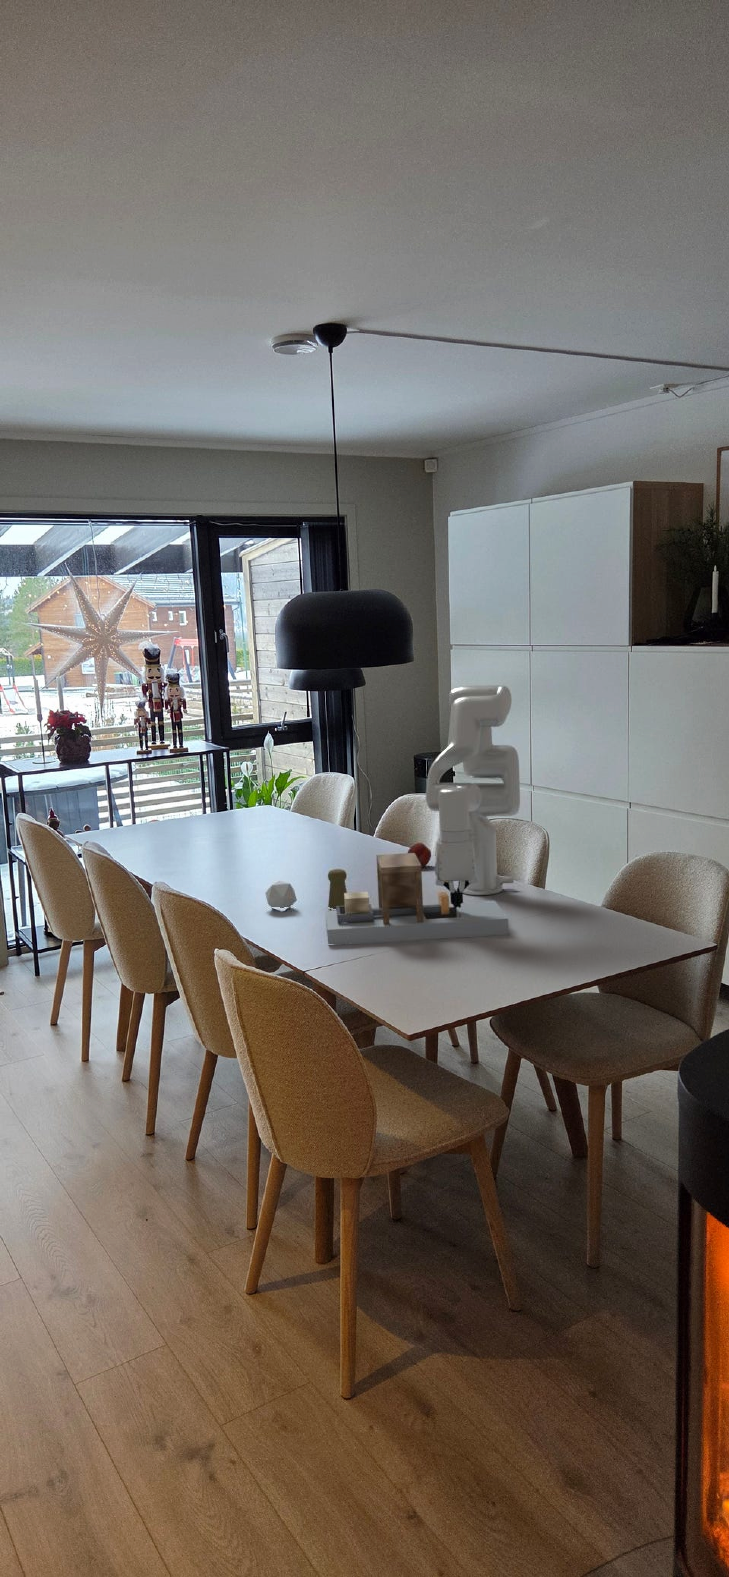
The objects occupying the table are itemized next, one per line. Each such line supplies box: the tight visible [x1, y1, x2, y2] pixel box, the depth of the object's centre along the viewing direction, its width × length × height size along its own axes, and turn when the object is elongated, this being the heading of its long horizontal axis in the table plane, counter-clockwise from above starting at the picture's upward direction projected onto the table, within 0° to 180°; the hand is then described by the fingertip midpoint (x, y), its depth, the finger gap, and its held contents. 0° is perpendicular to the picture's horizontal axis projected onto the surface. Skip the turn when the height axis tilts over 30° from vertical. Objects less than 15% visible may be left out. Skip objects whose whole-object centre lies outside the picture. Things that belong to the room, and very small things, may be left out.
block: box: [344, 891, 370, 914], centre depth 265 cm, size 6×6×6 cm
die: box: [265, 880, 298, 908], centre depth 292 cm, size 8×9×10 cm
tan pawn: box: [327, 868, 348, 909], centre depth 291 cm, size 6×6×11 cm
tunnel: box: [376, 852, 424, 925], centre depth 265 cm, size 10×15×14 cm, turn 4°
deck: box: [325, 900, 509, 945], centre depth 266 cm, size 45×18×4 cm, turn 94°
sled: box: [336, 891, 450, 923], centre depth 265 cm, size 28×9×4 cm, turn 94°
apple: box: [407, 842, 432, 868], centre depth 337 cm, size 7×8×8 cm
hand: (456, 906), depth 267 cm, fingers closed
